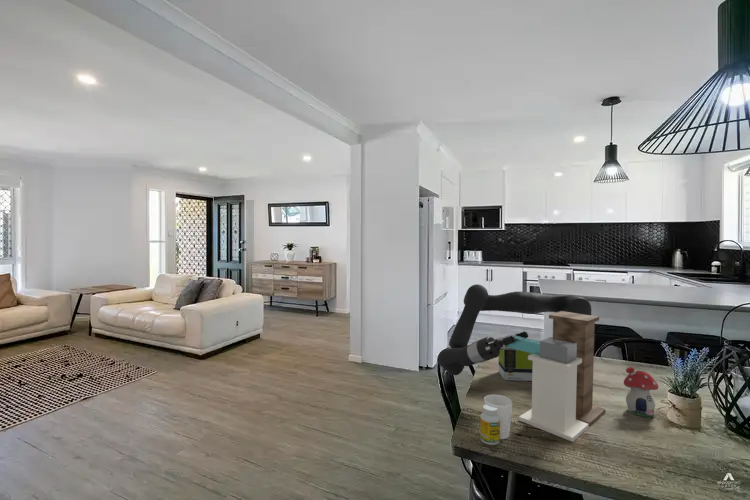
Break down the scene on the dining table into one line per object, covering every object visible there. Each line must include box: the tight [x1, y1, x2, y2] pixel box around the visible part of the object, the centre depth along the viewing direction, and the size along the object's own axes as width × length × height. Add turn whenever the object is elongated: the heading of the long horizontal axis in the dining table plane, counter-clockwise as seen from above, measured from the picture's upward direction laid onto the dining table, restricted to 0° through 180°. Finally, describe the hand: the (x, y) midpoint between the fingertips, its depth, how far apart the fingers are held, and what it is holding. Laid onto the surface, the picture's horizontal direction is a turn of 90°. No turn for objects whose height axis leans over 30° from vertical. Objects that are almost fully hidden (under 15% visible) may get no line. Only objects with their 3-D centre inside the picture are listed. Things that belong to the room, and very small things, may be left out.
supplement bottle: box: [479, 404, 501, 446], centre depth 104 cm, size 5×5×10 cm
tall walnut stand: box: [548, 311, 606, 427], centre depth 122 cm, size 16×14×32 cm
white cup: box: [483, 394, 513, 440], centre depth 107 cm, size 8×8×10 cm
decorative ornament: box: [623, 366, 659, 419], centre depth 121 cm, size 9×6×15 cm
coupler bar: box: [507, 334, 577, 364], centre depth 116 cm, size 20×7×5 cm, turn 41°
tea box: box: [498, 347, 533, 382], centre depth 152 cm, size 15×10×15 cm, turn 84°
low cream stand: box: [518, 354, 589, 443], centre depth 113 cm, size 16×12×21 cm
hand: (520, 336), depth 121 cm, fingers open, 8 cm apart
